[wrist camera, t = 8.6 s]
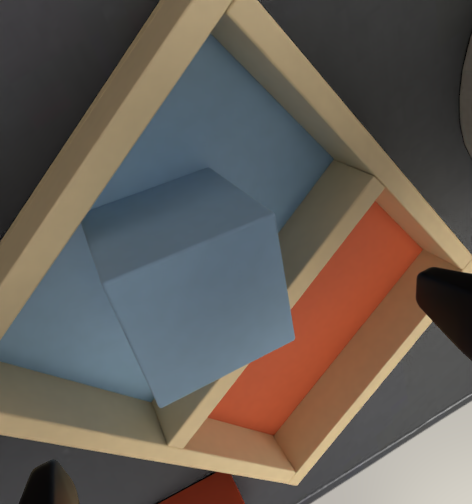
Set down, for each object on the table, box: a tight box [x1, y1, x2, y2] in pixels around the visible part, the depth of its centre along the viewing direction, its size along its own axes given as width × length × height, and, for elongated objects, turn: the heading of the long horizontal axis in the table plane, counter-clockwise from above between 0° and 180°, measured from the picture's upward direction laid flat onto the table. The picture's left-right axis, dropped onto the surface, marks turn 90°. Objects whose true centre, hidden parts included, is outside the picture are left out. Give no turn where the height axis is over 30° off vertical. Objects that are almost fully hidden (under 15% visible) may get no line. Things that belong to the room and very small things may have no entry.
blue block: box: [81, 168, 295, 408], centre depth 13 cm, size 4×4×4 cm
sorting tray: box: [0, 0, 472, 486], centre depth 17 cm, size 14×17×3 cm
